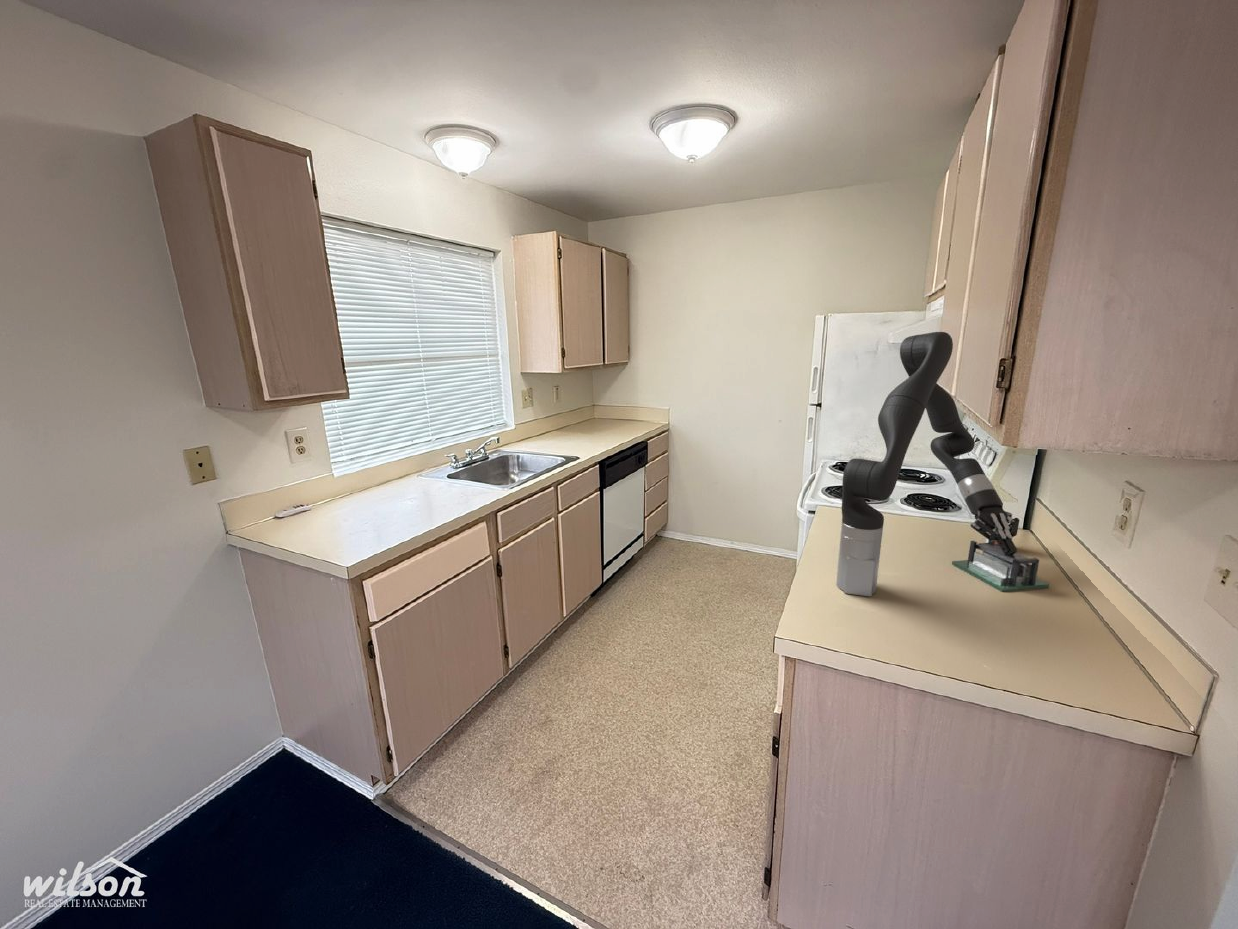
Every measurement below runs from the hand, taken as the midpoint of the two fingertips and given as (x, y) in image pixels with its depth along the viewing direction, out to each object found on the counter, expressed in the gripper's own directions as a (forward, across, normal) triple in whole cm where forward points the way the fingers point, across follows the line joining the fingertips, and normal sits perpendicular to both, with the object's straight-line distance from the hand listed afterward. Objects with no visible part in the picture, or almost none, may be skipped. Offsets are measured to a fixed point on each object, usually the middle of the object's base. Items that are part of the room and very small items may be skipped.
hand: (1011, 553), depth 126 cm
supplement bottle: (-8, +15, +19) cm, 26 cm away
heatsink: (+3, 0, +7) cm, 8 cm away
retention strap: (-5, 0, +7) cm, 9 cm away
